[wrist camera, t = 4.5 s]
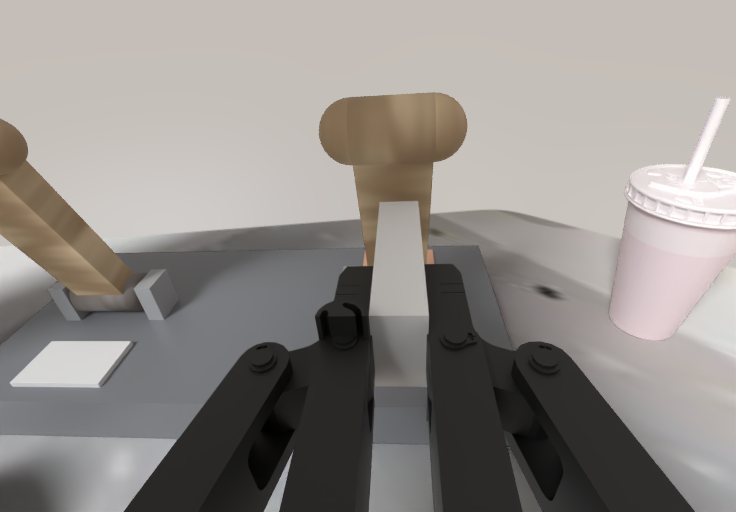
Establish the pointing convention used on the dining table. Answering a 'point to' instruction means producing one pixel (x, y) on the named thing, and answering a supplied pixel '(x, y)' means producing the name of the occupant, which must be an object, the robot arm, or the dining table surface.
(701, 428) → the dining table surface
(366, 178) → the lever
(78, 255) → the lever
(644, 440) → the dining table surface
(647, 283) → the smoothie
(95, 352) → the switch unit
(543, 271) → the dining table surface
